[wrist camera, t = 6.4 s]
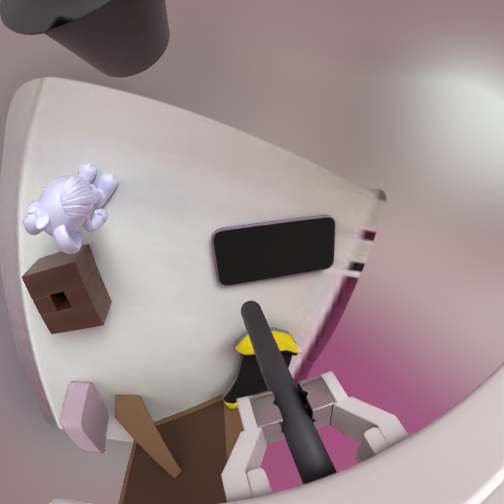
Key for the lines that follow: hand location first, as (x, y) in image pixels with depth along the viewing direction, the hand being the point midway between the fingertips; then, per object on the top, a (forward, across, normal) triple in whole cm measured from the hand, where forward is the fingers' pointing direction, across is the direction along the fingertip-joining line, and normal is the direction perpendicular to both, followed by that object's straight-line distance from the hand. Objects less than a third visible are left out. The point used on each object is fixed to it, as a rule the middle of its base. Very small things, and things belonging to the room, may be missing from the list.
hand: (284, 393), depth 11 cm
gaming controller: (+24, -1, +22) cm, 32 cm away
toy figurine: (+23, +13, -8) cm, 28 cm away
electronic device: (+24, +30, +25) cm, 45 cm away
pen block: (+23, +20, +3) cm, 31 cm away
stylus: (+7, 0, 0) cm, 7 cm away
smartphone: (+23, -6, +4) cm, 25 cm away
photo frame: (+24, +16, +30) cm, 41 cm away
